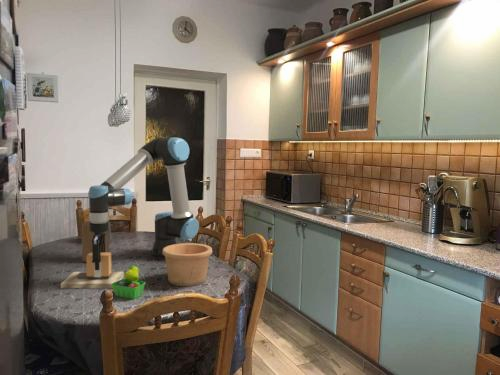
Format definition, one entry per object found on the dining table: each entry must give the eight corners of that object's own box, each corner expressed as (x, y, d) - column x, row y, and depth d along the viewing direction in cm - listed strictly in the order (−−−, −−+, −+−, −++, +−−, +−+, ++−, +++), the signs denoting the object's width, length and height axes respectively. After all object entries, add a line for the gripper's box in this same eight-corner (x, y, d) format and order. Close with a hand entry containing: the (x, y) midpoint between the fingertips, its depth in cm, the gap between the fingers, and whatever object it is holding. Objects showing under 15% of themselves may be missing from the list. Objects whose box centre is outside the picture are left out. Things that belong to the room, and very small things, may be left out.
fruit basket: (110, 296, 157) (110, 268, 156) (125, 289, 165) (125, 262, 164) (134, 301, 153) (134, 272, 152) (148, 293, 161) (148, 266, 160)
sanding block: (111, 274, 176) (111, 252, 175) (108, 278, 171) (108, 255, 170) (90, 274, 175) (89, 252, 174) (86, 278, 170) (86, 255, 169)
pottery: (217, 275, 186) (218, 245, 185) (201, 291, 165) (202, 257, 164) (174, 270, 191) (175, 241, 190) (153, 285, 170) (153, 252, 169)
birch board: (123, 275, 182) (123, 271, 182) (115, 288, 166) (115, 283, 166) (73, 276, 179) (73, 271, 179) (60, 288, 163) (60, 283, 163)
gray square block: (89, 276, 174) (89, 272, 174) (87, 279, 170) (87, 275, 170) (80, 276, 174) (80, 272, 174) (77, 279, 170) (77, 275, 170)
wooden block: (99, 263, 199) (98, 224, 198) (81, 262, 201) (80, 223, 200) (110, 258, 209) (109, 220, 207) (92, 256, 211) (92, 219, 209)
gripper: (95, 218, 179) (95, 268, 181) (83, 225, 161) (84, 281, 163) (112, 218, 180) (113, 268, 182) (102, 225, 162) (103, 281, 164)
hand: (99, 274), depth 173 cm, fingers closed on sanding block, 5 cm apart
